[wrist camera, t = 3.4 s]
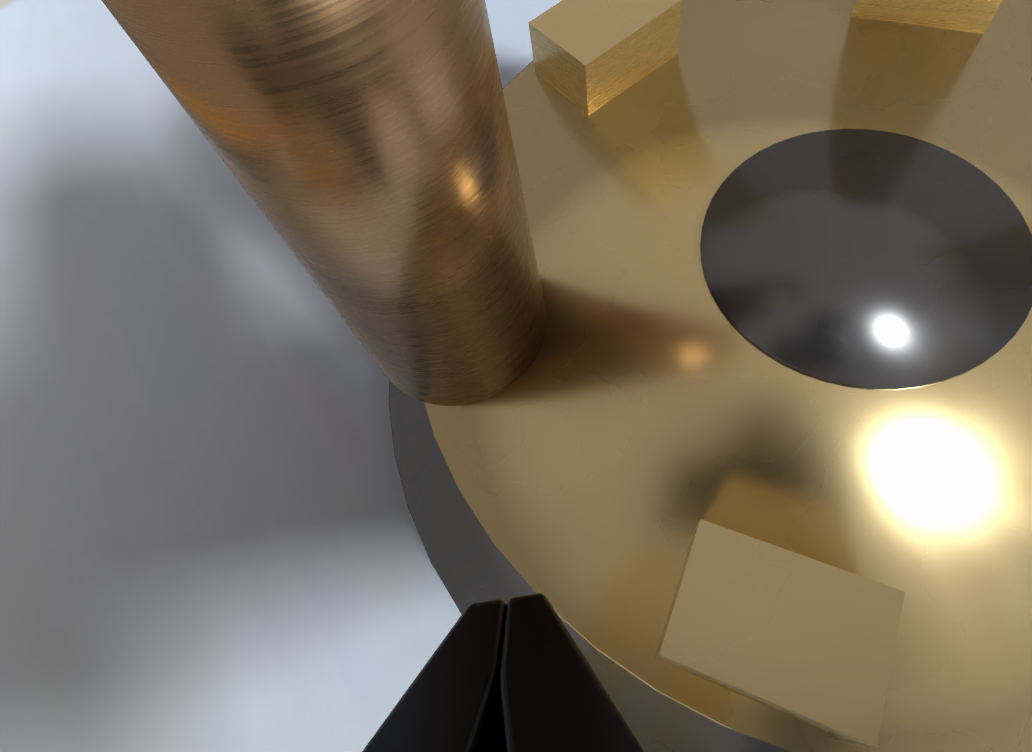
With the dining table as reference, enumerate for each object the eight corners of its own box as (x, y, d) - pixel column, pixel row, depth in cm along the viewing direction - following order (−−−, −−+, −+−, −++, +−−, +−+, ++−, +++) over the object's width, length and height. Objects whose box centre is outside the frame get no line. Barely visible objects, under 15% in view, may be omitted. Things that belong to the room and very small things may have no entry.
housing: (1097, 1175, 10) (1169, 1248, 9) (197, 404, 19) (165, 383, 18) (1423, 246, 16) (1498, 205, 14) (610, -28, 24) (609, -69, 23)
